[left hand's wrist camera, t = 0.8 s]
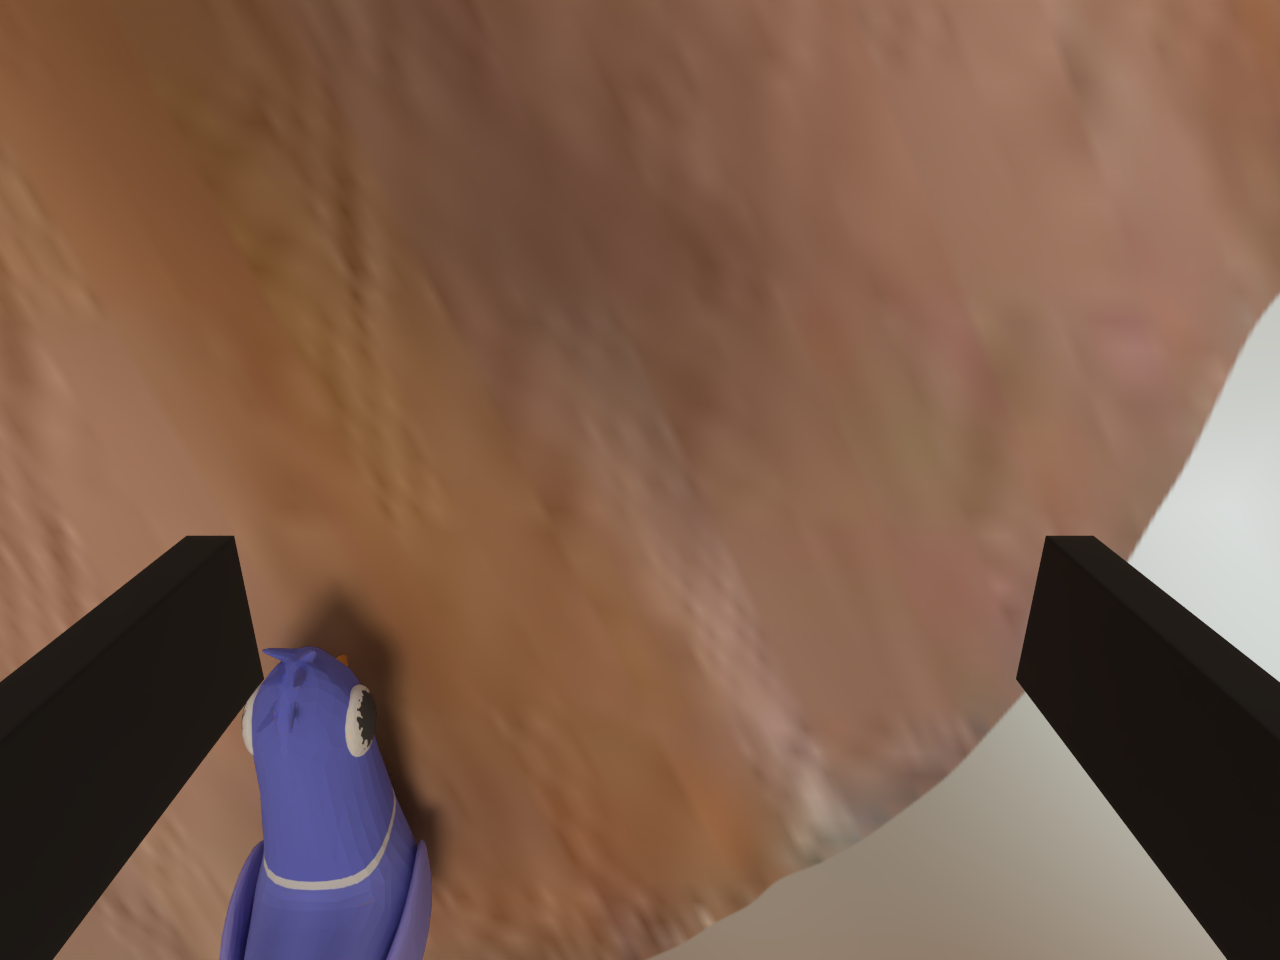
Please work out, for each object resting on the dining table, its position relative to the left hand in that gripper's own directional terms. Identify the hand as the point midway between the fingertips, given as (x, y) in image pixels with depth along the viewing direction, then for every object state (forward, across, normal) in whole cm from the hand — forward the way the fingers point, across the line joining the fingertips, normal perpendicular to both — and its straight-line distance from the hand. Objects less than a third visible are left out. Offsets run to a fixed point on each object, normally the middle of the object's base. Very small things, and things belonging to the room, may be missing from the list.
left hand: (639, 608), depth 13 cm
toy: (+26, -16, -26) cm, 40 cm away
